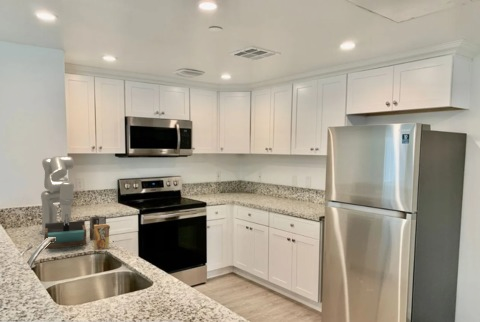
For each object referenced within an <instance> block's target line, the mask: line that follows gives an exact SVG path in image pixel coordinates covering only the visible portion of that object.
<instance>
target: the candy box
mask: <svg viewBox="0 0 480 322" xmlns="http://www.w3.org/2000/svg"><path fill="white" fill-rule="evenodd" d="M102 248H110V224H109V223H106V224H100V225H94V241H93V250H94V249H98V250H103V249H102Z"/></svg>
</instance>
